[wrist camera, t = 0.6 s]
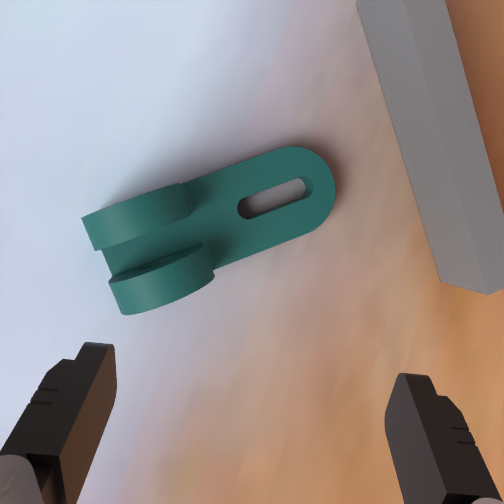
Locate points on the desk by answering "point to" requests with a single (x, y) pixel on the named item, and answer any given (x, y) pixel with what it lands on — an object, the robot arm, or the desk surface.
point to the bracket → (204, 226)
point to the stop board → (439, 138)
